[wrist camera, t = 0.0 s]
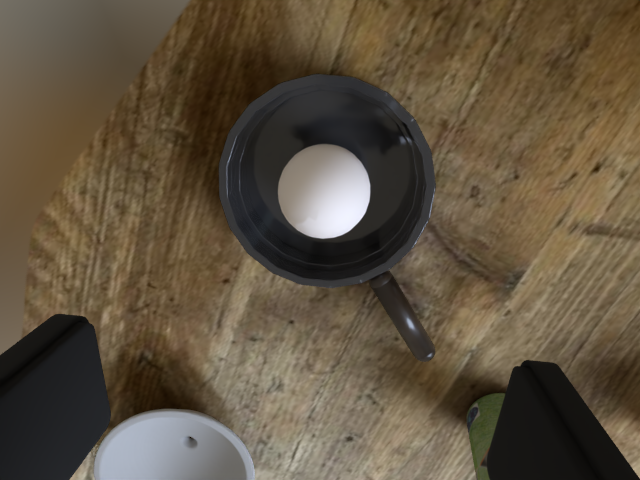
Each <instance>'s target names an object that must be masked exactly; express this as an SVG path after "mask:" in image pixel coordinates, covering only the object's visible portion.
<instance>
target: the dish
mask: <svg viewBox="0 0 640 480" xmlns="http://www.w3.org/2000/svg"><path fill="white" fill-rule="evenodd" d="M189 437H192V438H194V439H191V438H189ZM94 477H95V480H254V477H255V473H254V466H253V461H252V458H251V456H250V453H249V451H248V449H247V448H246V446H245V445H244V443H243V442H242V441H241V439H240V438H239V437H238V436H237V435H236V434H235V433H234V432H233V431H232V430H230V429H229V428H228V427H227V426H225V425H224V424H222V423H221V422H220V421H218V420H217V419H215V418H213V417H211V416H209V415H207V414H204V413H201V412H198V411H194V410H186V409H157V410H151V411H146V412H143V413H139V414H137V415H134V416H132V417H130V418H128V419H126V420H124V421H123V422H121V423H119V424H118V425H117V426H116V427H114V428H113V429H112V430H111V431H110V432H109V433H108V434H107V435H106V437H105V438H104V439H103V441H102V442H101V444H100V446H99V448H98V450H97V453H96V456H95V461H94Z"/></svg>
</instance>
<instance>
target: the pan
mask: <svg viewBox="0 0 640 480" xmlns="http://www.w3.org/2000/svg"><path fill="white" fill-rule="evenodd" d="M318 144H330V145H337V146H340V147H342V148H345V149H347V150H348V151H350V152H351V153H353V154H354V155H355V156H356V157H357V158H358V159H359V160H360V161H361V163H362V165H363V166H364V168H365V170H366V172H367V174H368V178H369V182H370V201H369V204H368V207H367V210H366V212H365V214H364V216H363V217H362V219H361V220H360V221H359V222H358V223H357V225H355V226H354V227H353V228H352V229H351V230H350V231H348V232H347V233H345V234H343V235H340V236H337V237H334V238H325V239H321V238H315V237H310V236H308V235H305V234H303V233H301V232H300V231H298V230H296V229H295V228H294V227H293V226H292V225H291V224H290V223H289V222H288V221H287V219H286V218H285V216H284V214H283V213H282V210H281V207H280V204H279V199H278V185H279V180H280V177H281V174H282V171H283V169H284V168H285V166H286V165H287V164H288V162H289V161H290V160H291V159H292V158H293V157H294V155H295V154H297V153H298V152H300V151H302V150H303V149H305V148H307V147H310V146H313V145H318ZM435 188H436V183H435V175H434V168H433V160H432V153H431V150H430V148H429V146H428V144H427V142H426V140H425V138H424V136H423V134H422V132H421V130H420V128H419V126H418V124H417V122H416V120H415V119H414V117H413V116H412V115H411V114H410V113H409V112H408V111H406V110H405V109H404V108H403V107H402V106H401V105H400V104H399V103H398V102H397V101H396V100H395V99H394V98H393V97H392V96H391V95H390V94H389V93H387V92H385V91H383V90H381V89H379V88H377V87H374V86H372V85H370V84H368V83H366V82H363V81H361V80H359V79H357V78H355V77H349V76H337V75H325V74H312V75H309V76H305V77H301V78H297V79H293V80H290V81H286V82H282V83H280V84H278V85H276V86H275V87H273V88H272V89H270V90H269V91H267V92H266V93H264V94H263V95H261V96H260V97H258V98H257V99H256V100H254V101H253V102H251V103H250V104H249V105H248V106H247V108H246V109H245V111H244V112H243V113H242V115H241V116H240V117H239V119H238V120H237V121H236V123H235V124H234V125H233V127H232V128H231V130H230V131H229V133H228V136H227V139H226V143H225V146H224V149H223V152H222V155H221V159H220V162H219V197H220V201H221V204H222V207H223V210H224V213H225V216H226V219H227V222H228V225H229V227H230V229H231V231H232V232H233V233H234V235H235V236H236V238H237V239H238V240H239V242H240V243H241V245H242V246H243V247H244V249H245V250H246V252H247V253H248V254H249V255H250V256H252V257H253V258H254V259H255V260H257V261H258V262H259V263H260V264H262V265H263V266H264V267H266V268H267V269H268V270H269V271H271V272H272V273H274V274H276V275H279V276H281V277H284V278H286V279H288V280H291V281H293V282H296V283H298V284H301V285H309V286H318V287H326V288H335V287H341V286H347V285H353V284H359V283H363V282H365V281H367V280H369V279H371V278H373V277H375V276H377V275H379V274H381V273H383V272H385V271H388V270H389V269H391V268H392V267H393V266H394V265H395V264H396V263H397V262H398V261H399V260H400V259H402V258H403V257H404V256H405V255H406V254H407V253H408V252H409V251H410V250H411V249H412V248H413V247H414V246H415V244H416V242H417V240H418V238H419V237H420V235H421V233H422V231H423V230H424V228H425V226H426V224H427V222H428V221H429V218H430V214H431V209H432V203H433V198H434V193H435Z"/></svg>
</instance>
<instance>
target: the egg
mask: <svg viewBox="0 0 640 480" xmlns="http://www.w3.org/2000/svg"><path fill="white" fill-rule="evenodd" d="M278 199H279V204H280V207H281V210H282V213H283V214H284V216H285V218H286V219H287V221H288V222H289V223H290V224H291V225H292V226H293V227H294V228H295V229H296V230H298V231H300V232H301V233H303V234H305V235H308V236H310V237H315V238H321V239H325V238H334V237H337V236H340V235H343V234H345V233H347V232H348V231H350V230H351V229H352V228H353V227H354V226H355V225H357V223H358V222H359V221H360V220H361V219H362V217H363V216H364V214H365V212H366V210H367V207H368V204H369V201H370V182H369V178H368V174H367V172H366V170H365V168H364V166H363V165H362V163H361V161H360V160H359V159H358V158H357V157H356V156H355V155H354V154H353V153H351V152H350V151H348V150H347V149H345V148H342V147H340V146H337V145H330V144H318V145H313V146H310V147H307V148H305V149H303V150H302V151H300V152H298V153H297V154H295V155H294V157H293V158H292V159H291V160H290V161H289V162H288V164H287V165H286V166H285V168H284V169H283V171H282V174H281V177H280V180H279V185H278Z"/></svg>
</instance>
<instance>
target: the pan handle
mask: <svg viewBox="0 0 640 480" xmlns="http://www.w3.org/2000/svg"><path fill="white" fill-rule="evenodd" d="M369 284H370V286H371V288H372V289H373V291H374V293H375V294H376V296H377V297H378V299H379V301H380V302H381V304H382V305H383V307H384V309H385V310H386V312H387V314H388V315H389V317H390V318H391V320H392V322H393V323H394V325H395V326H396V328H397V330H398V331H399V333H400V335H401V336H402V338H403V339H404V341H405V343H406V344H407V346H408V347H409V349H410V351H411V352H412V354H413V355H414V357H415V358H416V359H417V360H419V361H422V362H427V361H430V360H431V359H432V358H433V357H434V355H435V346H434V344H433V342H432V341H431V339H430V337H429V336H428V334H427V332H426V331H425V329H424V327H423V326H422V324H421V322H420V321H419V319H418V317H417V316H416V314H415V312H414V311H413V309H412V307H411V305H410V304H409V302H408V300H407V299H406V297H405V295H404V294H403V292H402V290H401V289H400V287H399V285H398V284H397V282H396V280H395V279H394V277H393V275H392V274H391V272H390V271H389V270H388V271H385V272H383V273H381V274H379V275H377V276H375V277H373V278H371V279H369Z"/></svg>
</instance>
